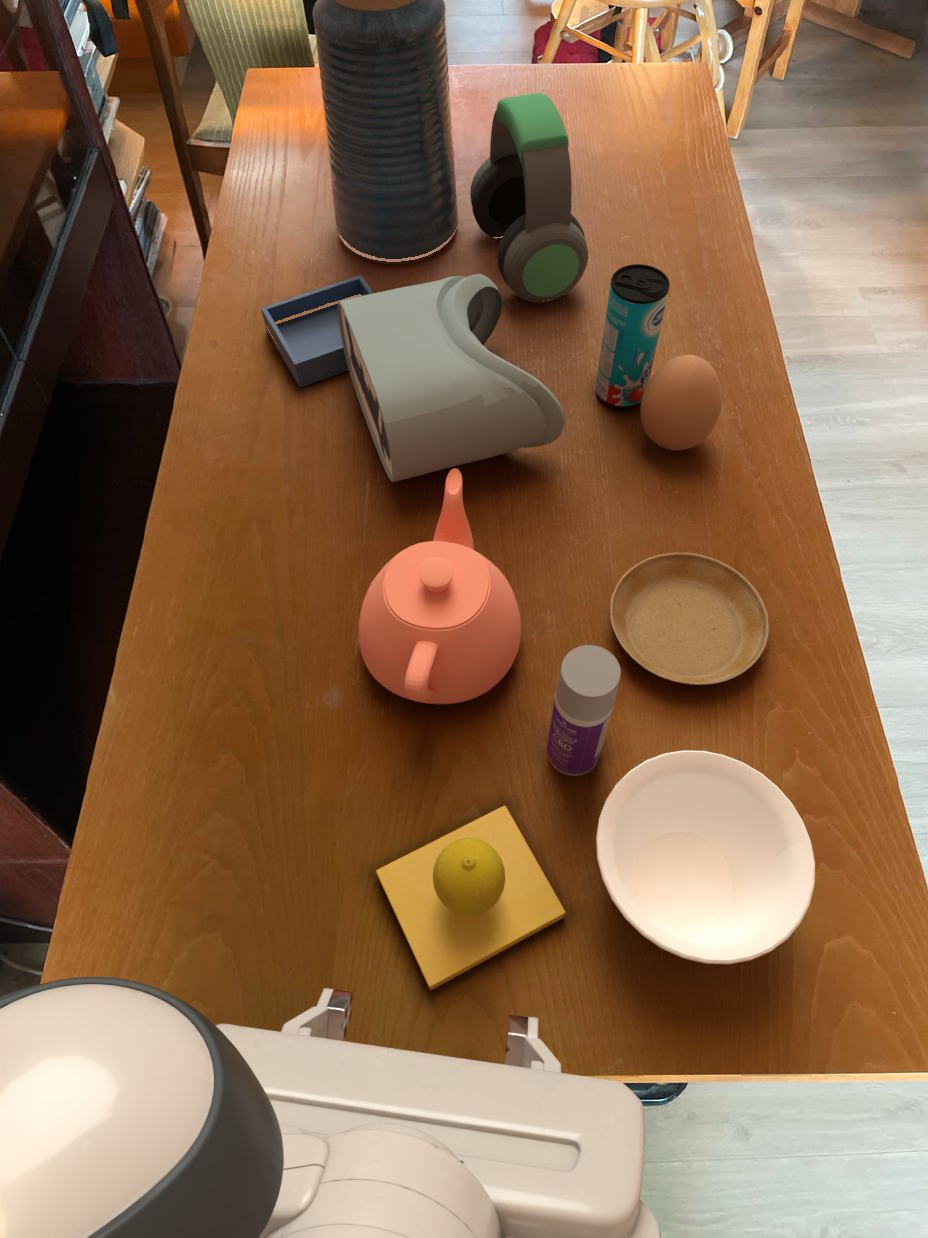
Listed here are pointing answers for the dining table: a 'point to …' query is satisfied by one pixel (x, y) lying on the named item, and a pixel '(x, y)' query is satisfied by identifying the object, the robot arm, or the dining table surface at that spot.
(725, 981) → the dining table surface
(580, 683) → the container
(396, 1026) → the dining table surface
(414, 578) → the teapot
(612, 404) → the beverage can
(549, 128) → the headphones
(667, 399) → the egg
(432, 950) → the yellow board
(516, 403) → the virtual reality goggles
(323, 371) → the blue tray
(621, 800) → the bowl
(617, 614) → the plant saucer
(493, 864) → the lemon
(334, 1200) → the robot arm
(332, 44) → the vase
